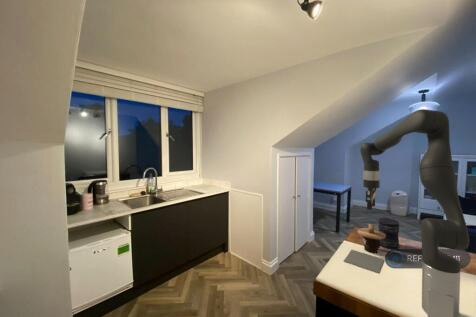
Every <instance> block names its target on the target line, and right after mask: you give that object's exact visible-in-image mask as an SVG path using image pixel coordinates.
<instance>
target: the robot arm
mask: <svg viewBox="0 0 476 317" xmlns="http://www.w3.org/2000/svg"><path fill="white" fill-rule="evenodd" d="M413 133H418V134H425V135H426V137H427V150H426V152H425V153H424V155H423V156H422V157H421V159H420V162H419V165H418V169H419V170H418V171H419V177H420V178H419V179H420V183H421V185H422V186H423V187H424V189H425V190H426V191H427V192H428V193H429V194H430V195H431V196H432V197H433V199H435V200H436V201H437V202H438V204H439V205H440V207H441V209H442V210H443V212H444V215H445V219H441V218H440V219H439V218H431V217H430V218H429V217H428V218H427V217H426V218H423V220H421V221H422V222H421V225H420V232H421V233H420V234H421V255H422V265H421V268H422V269H421V270H422V271H421V308H422V310H423V309H424V310H423V311H424V312H425V314H426V315H428V317H429V316H431V317H460V299H461V298H460V294H461V293H460V292H461V268H462V267H461V263H460V261H459V260H458V259H457V258H455V257H453V256H452V255H449V254H447V253H445V252H442V251H441V250H439V248H444V249H445V248H446V249H453V250H460V251H464V250H466V249H468V248H469V246H470V235H469V231H468V226H467V223H466V219H465V217H464V213H463V209H462V206H461V202H460V198H459V197H460V196H459V192H458V186H457V179H456V173H455V167H454V166H455V165H454V164H453V158H452V149H451V143H450V121H449V116H448V115H447V114H446V113H445V112H443V111H439V110H433V109H424V108H421V109H418V110H415V111H413V112H412V113H410V114H409V115H407V117H405V118H404V119H403V120H402V121H401V122H399V123H398V124H397V125H395V126H394V127H393V128H392V129H390V130H389V131H388V132H387V133H384V134H382V135H381V136H379V137H377V138H376V139H375V140H374V142H364V143H362V145H360V149H359V150H360V155H361V157H362V158H361V159H362V163H363V175H362V177H363V178H362V179H363V181H362V185H363V186H362V187H364V188H366V189H367V190H366V191H365V202H366V210H370V211H372V210H373V207H375V206H376V200H377V189H379V188H380V184H381V183H380V181H381V178H380V174H381V173H380V162H379V160H378V159H373V158H372V156H380V155H382V154H383V153H385V152H386V151H387V150H388V149H391V148H393V147H395V146H397V145H398V144H400V142H401V140H402V139H403V137H404V136H406V135H409V134H413Z"/></svg>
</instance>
